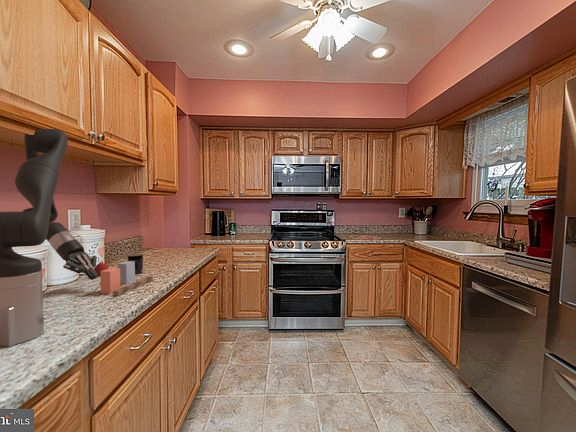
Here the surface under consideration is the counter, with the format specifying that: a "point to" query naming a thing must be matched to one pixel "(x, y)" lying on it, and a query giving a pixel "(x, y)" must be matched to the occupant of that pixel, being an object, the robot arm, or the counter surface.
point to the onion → (100, 267)
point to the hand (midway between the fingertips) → (95, 277)
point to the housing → (132, 286)
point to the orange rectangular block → (110, 280)
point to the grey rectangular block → (127, 272)
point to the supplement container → (136, 262)
